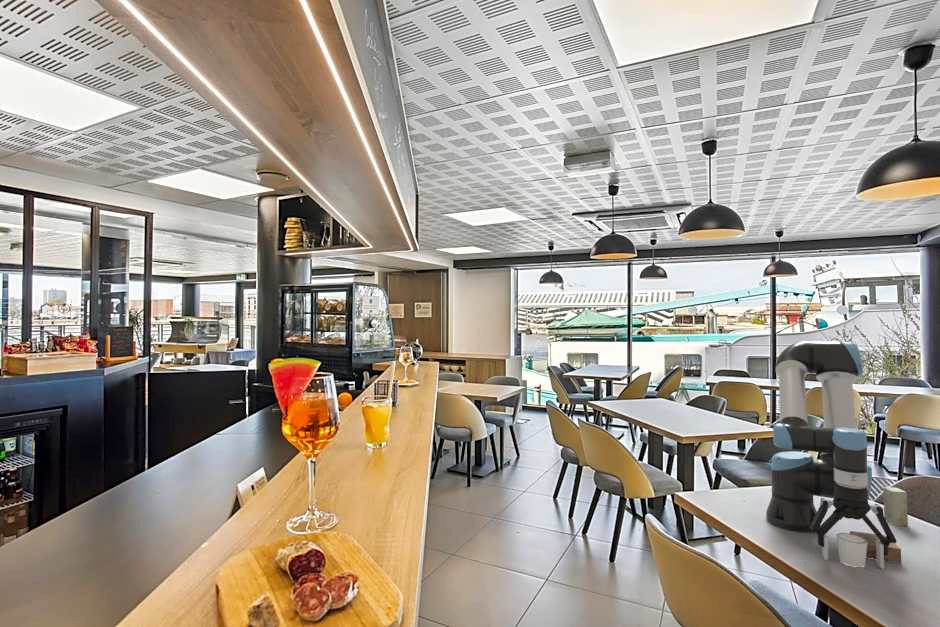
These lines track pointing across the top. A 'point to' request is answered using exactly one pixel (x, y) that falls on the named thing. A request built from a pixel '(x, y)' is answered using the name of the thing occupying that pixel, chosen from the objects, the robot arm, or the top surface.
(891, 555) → the walnut block
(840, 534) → the white cylinder
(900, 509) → the box
